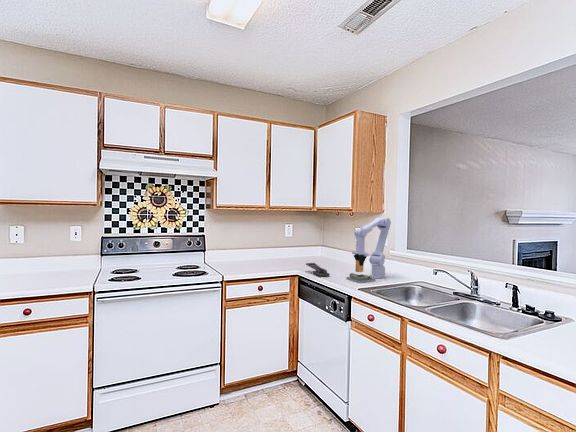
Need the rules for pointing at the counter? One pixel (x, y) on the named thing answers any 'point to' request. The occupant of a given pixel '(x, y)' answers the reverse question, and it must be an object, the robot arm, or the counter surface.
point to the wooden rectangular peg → (358, 267)
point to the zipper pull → (318, 270)
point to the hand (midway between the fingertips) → (359, 265)
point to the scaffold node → (360, 278)
